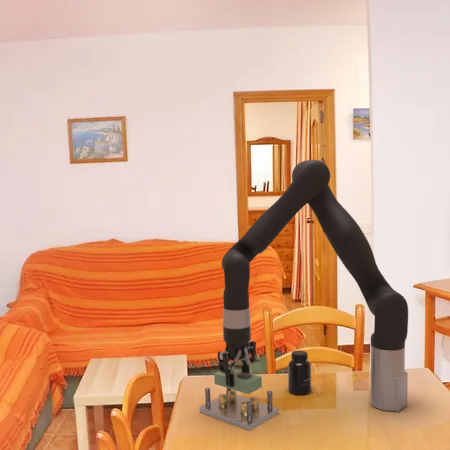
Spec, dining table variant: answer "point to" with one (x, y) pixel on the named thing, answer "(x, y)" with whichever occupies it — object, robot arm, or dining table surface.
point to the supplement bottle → (299, 373)
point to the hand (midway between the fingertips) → (238, 382)
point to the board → (240, 381)
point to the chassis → (239, 409)
